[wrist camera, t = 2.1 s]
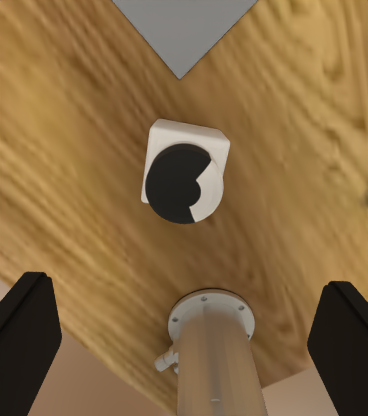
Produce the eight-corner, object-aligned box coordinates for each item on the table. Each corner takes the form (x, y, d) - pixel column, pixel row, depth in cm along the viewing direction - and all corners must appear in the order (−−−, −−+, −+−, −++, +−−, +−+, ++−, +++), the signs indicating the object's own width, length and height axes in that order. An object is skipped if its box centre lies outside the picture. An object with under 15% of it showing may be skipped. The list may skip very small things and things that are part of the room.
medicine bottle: (148, 180, 33) (131, 226, 22) (156, 117, 30) (142, 135, 19) (207, 189, 34) (220, 240, 23) (221, 129, 31) (243, 153, 20)
